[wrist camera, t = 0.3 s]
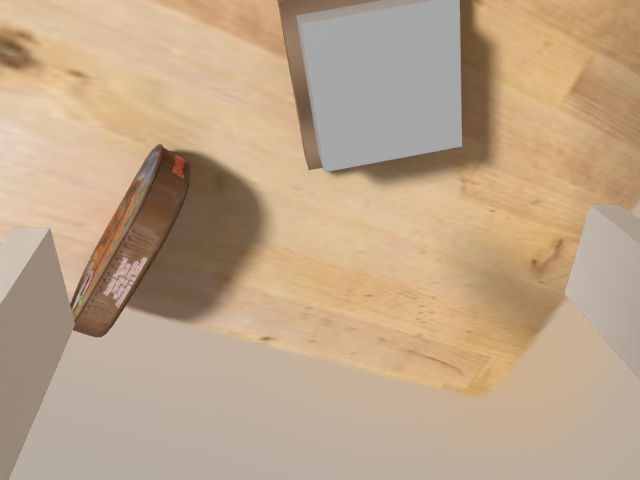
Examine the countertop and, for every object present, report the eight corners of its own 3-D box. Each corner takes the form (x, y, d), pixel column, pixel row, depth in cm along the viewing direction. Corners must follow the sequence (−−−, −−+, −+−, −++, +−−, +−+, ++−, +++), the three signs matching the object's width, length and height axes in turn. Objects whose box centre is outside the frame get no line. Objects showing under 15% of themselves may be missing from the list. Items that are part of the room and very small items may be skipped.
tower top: (296, 15, 33) (301, 24, 30) (440, -11, 33) (459, -5, 30) (318, 152, 38) (324, 172, 35) (444, 129, 38) (461, 146, 35)
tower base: (276, -4, 36) (279, 2, 33) (439, -33, 36) (457, -30, 33) (304, 152, 41) (308, 170, 38) (445, 125, 42) (461, 141, 38)
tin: (163, 126, 38) (145, 172, 31) (203, 148, 40) (194, 197, 32) (77, 279, 44) (43, 349, 36) (114, 295, 45) (89, 366, 38)
